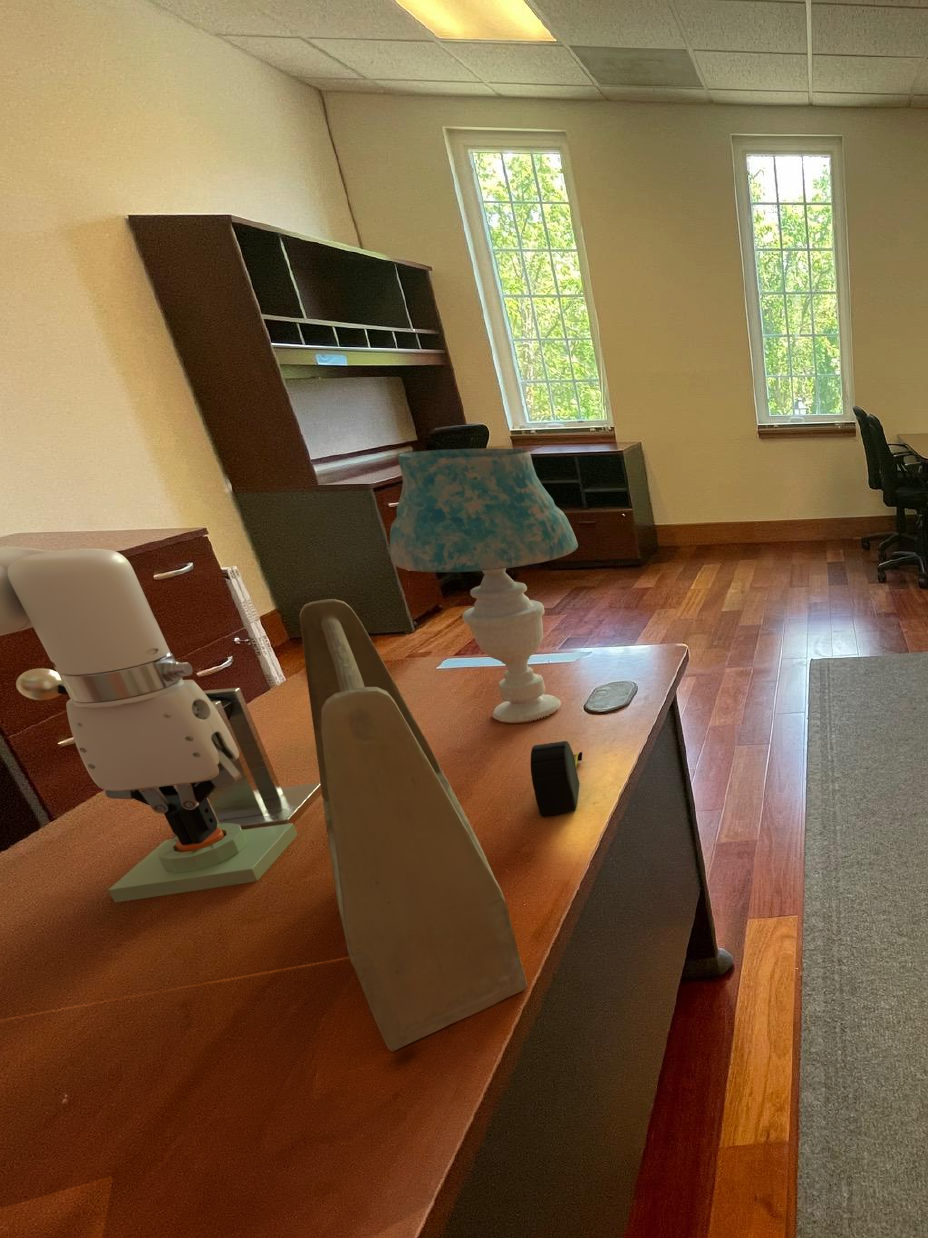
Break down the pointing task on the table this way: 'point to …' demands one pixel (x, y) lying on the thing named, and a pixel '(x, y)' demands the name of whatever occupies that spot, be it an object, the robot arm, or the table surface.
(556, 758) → the tape measure
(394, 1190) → the table surface
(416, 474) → the table lamp
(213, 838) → the button
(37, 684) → the lever
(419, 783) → the caddy
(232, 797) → the bracket
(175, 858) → the button box
